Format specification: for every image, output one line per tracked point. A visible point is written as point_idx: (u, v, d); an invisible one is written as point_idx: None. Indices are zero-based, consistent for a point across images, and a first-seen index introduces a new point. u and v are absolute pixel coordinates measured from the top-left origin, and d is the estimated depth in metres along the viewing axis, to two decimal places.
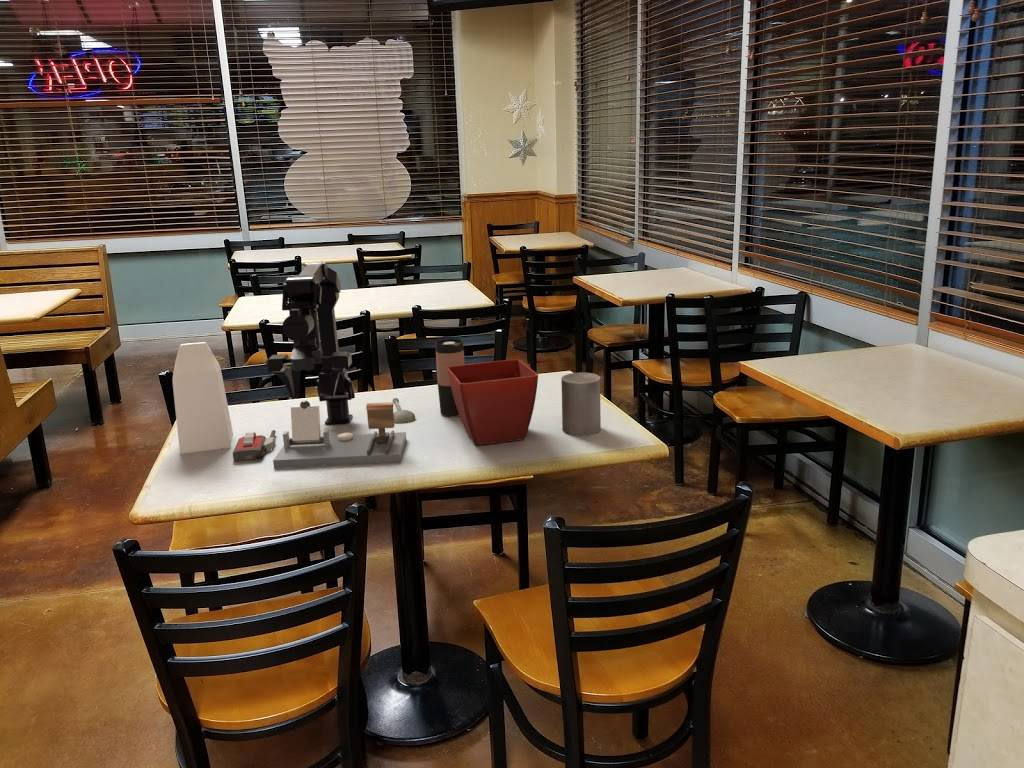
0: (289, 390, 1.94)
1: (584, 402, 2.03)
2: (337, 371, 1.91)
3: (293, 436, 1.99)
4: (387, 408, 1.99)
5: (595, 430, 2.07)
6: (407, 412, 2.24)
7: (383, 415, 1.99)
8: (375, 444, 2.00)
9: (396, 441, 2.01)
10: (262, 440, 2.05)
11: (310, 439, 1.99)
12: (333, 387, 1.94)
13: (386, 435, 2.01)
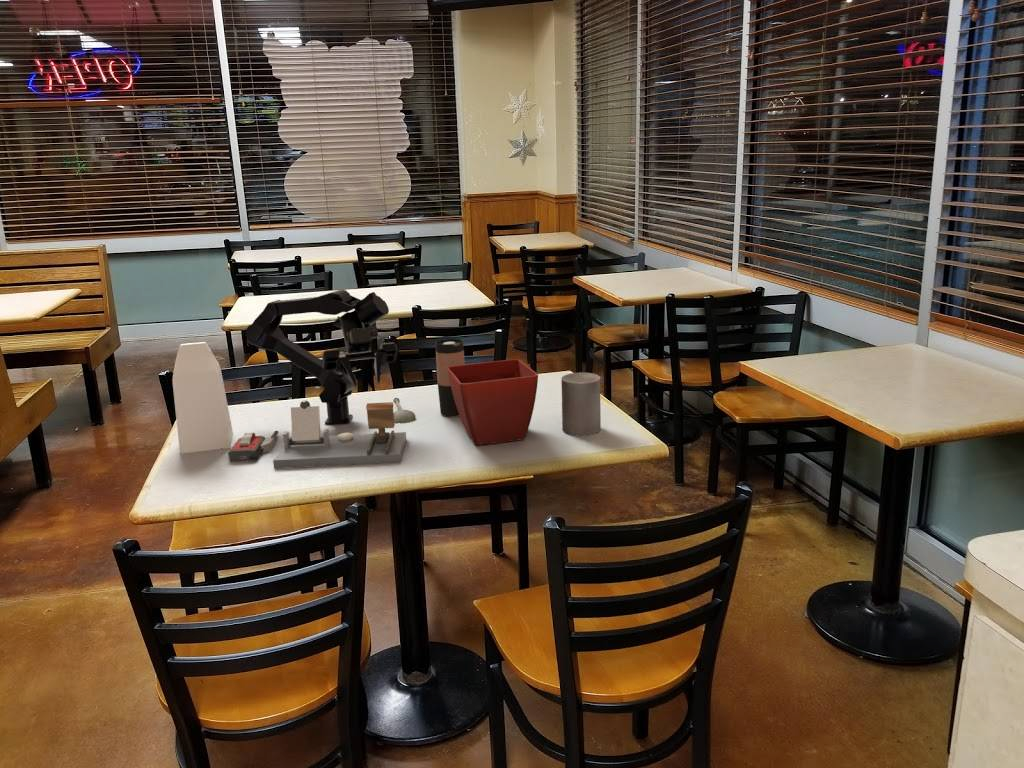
0: (352, 376, 2.08)
1: (584, 402, 2.03)
2: (382, 353, 2.12)
3: (293, 436, 1.99)
4: (387, 408, 1.99)
5: (595, 430, 2.07)
6: (407, 412, 2.25)
7: (383, 415, 1.99)
8: (375, 444, 2.00)
9: (396, 441, 2.01)
10: (260, 441, 2.05)
11: (310, 439, 1.99)
12: (379, 372, 2.11)
13: (386, 435, 2.01)
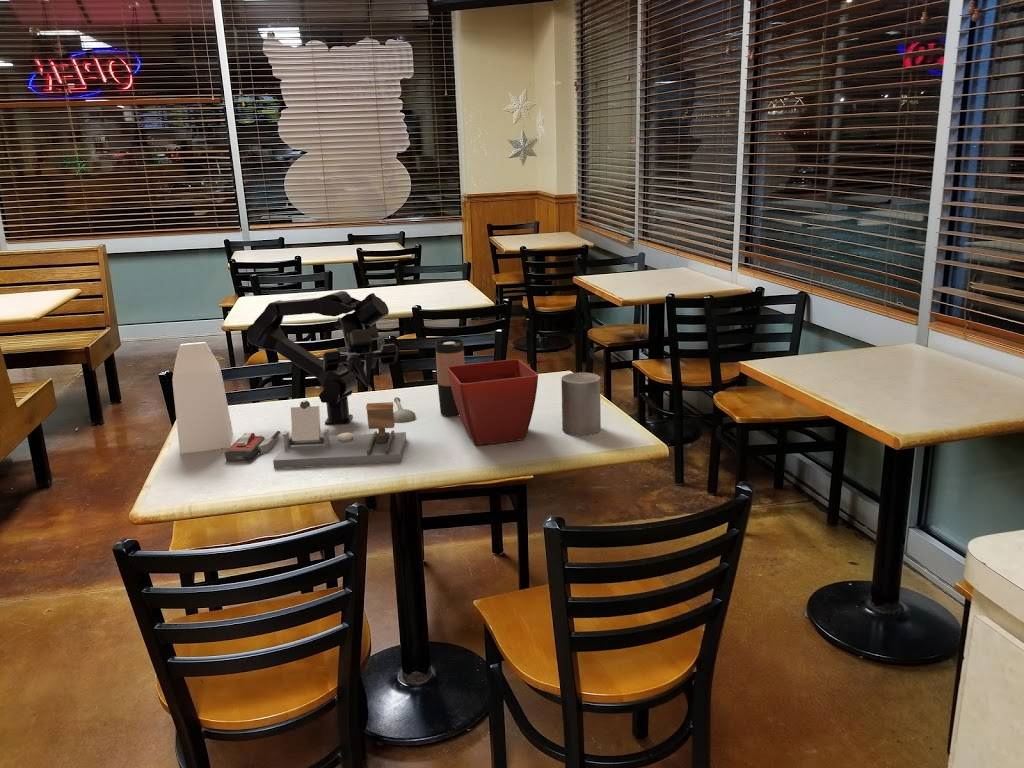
0: (363, 376, 2.09)
1: (584, 402, 2.03)
2: (372, 356, 2.11)
3: (293, 436, 1.99)
4: (387, 408, 1.99)
5: (595, 430, 2.07)
6: (408, 411, 2.25)
7: (383, 415, 1.99)
8: (375, 444, 2.00)
9: (396, 441, 2.01)
10: (258, 441, 2.04)
11: (310, 439, 1.99)
12: (369, 374, 2.10)
13: (386, 435, 2.01)
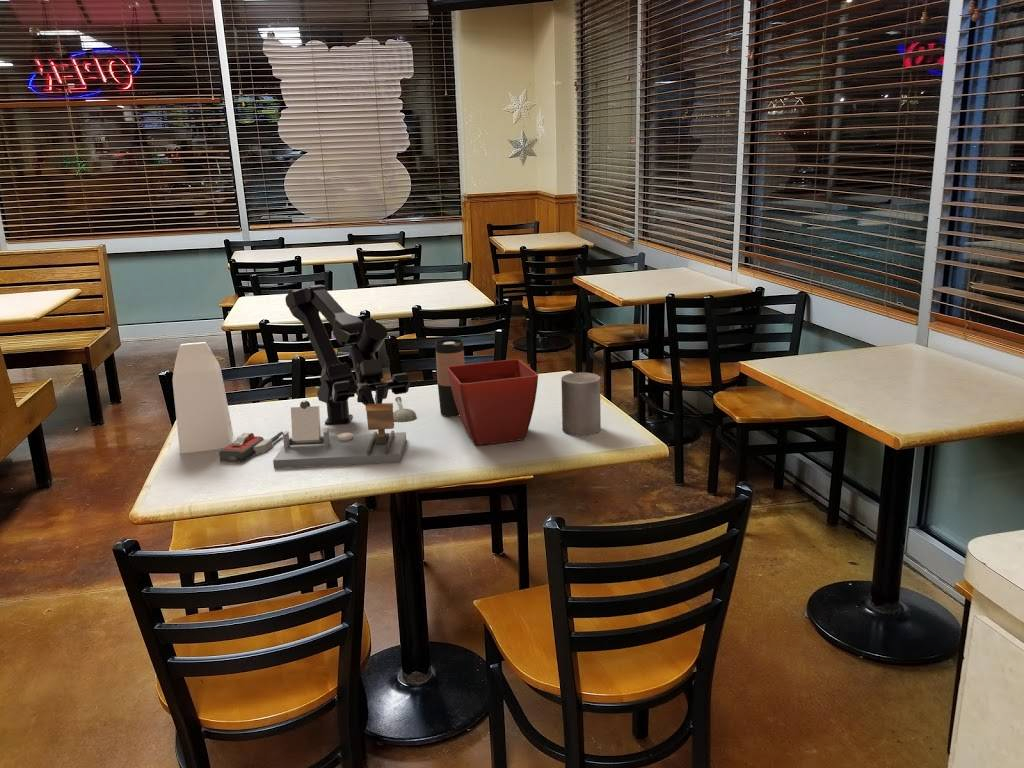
0: None
1: (584, 402, 2.03)
2: (383, 386, 2.03)
3: (293, 436, 1.99)
4: (386, 409, 1.98)
5: (595, 430, 2.07)
6: (408, 410, 2.26)
7: (383, 416, 1.98)
8: (375, 444, 2.00)
9: (396, 441, 2.01)
10: (255, 442, 2.04)
11: (310, 439, 1.99)
12: None
13: (386, 436, 2.00)
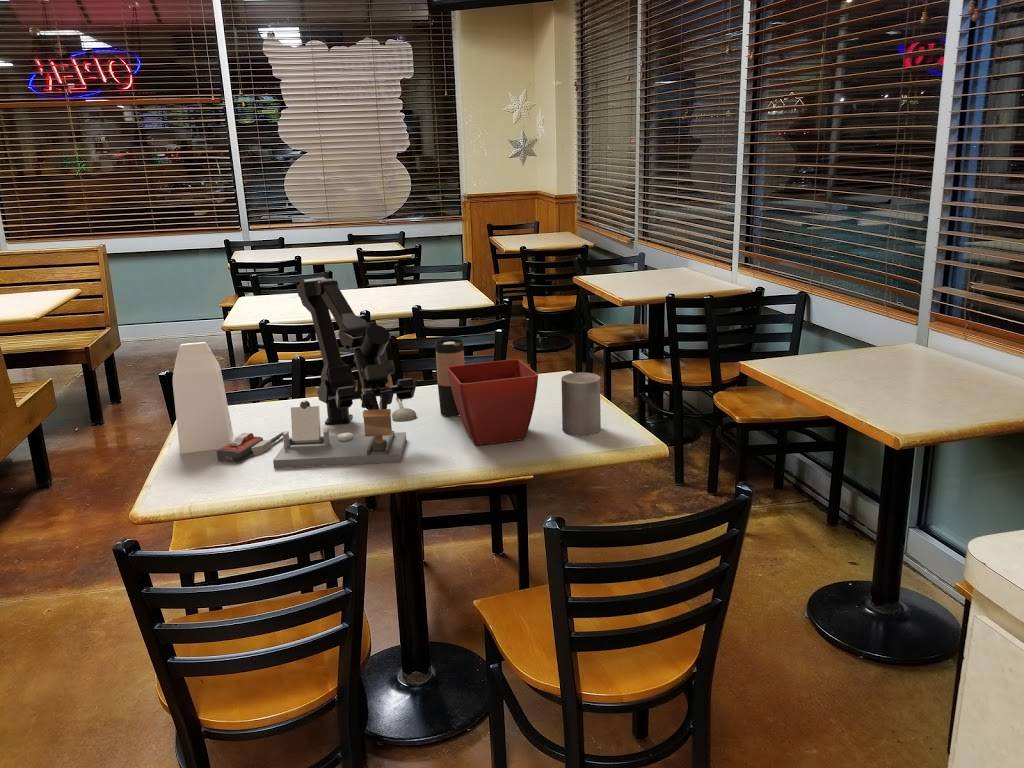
0: None
1: (584, 402, 2.03)
2: (388, 392, 1.98)
3: (293, 436, 1.99)
4: (384, 415, 1.93)
5: (595, 430, 2.07)
6: (408, 410, 2.26)
7: (380, 422, 1.94)
8: None
9: (396, 441, 2.01)
10: (254, 442, 2.04)
11: (310, 439, 1.99)
12: None
13: (383, 443, 1.96)
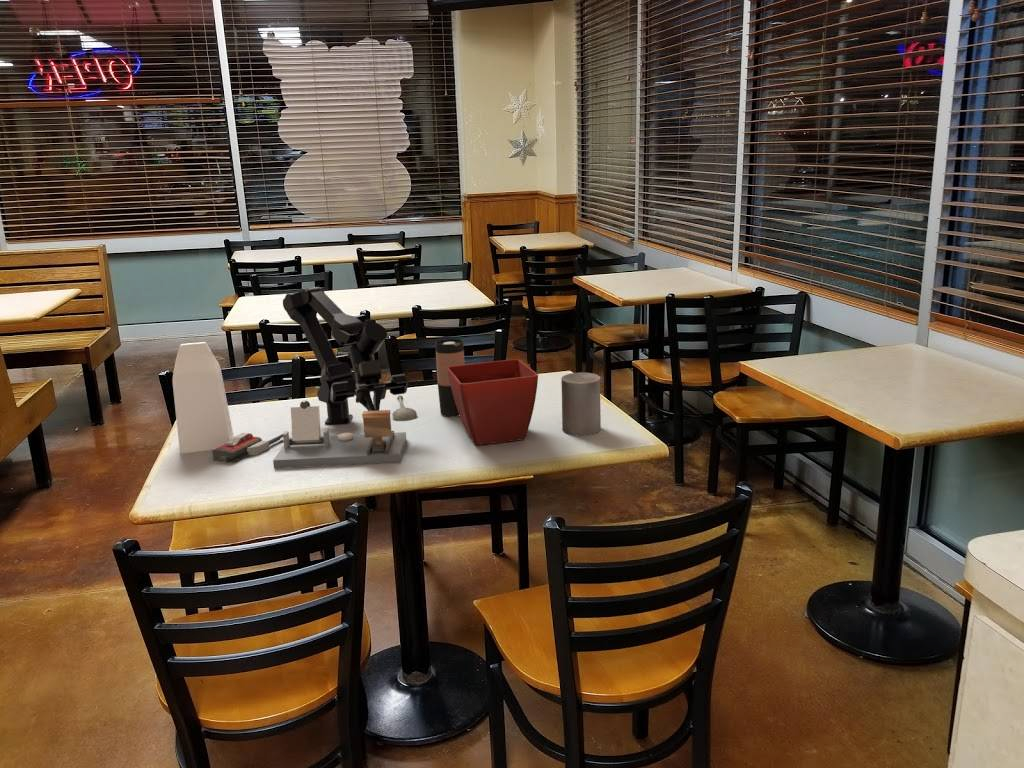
0: (372, 409, 2.02)
1: (584, 402, 2.03)
2: (381, 387, 2.04)
3: (293, 436, 1.99)
4: (384, 416, 1.93)
5: (595, 430, 2.07)
6: (409, 410, 2.27)
7: (380, 423, 1.93)
8: None
9: (396, 441, 2.01)
10: (251, 443, 2.03)
11: (310, 439, 1.99)
12: (378, 407, 2.03)
13: (383, 444, 1.95)
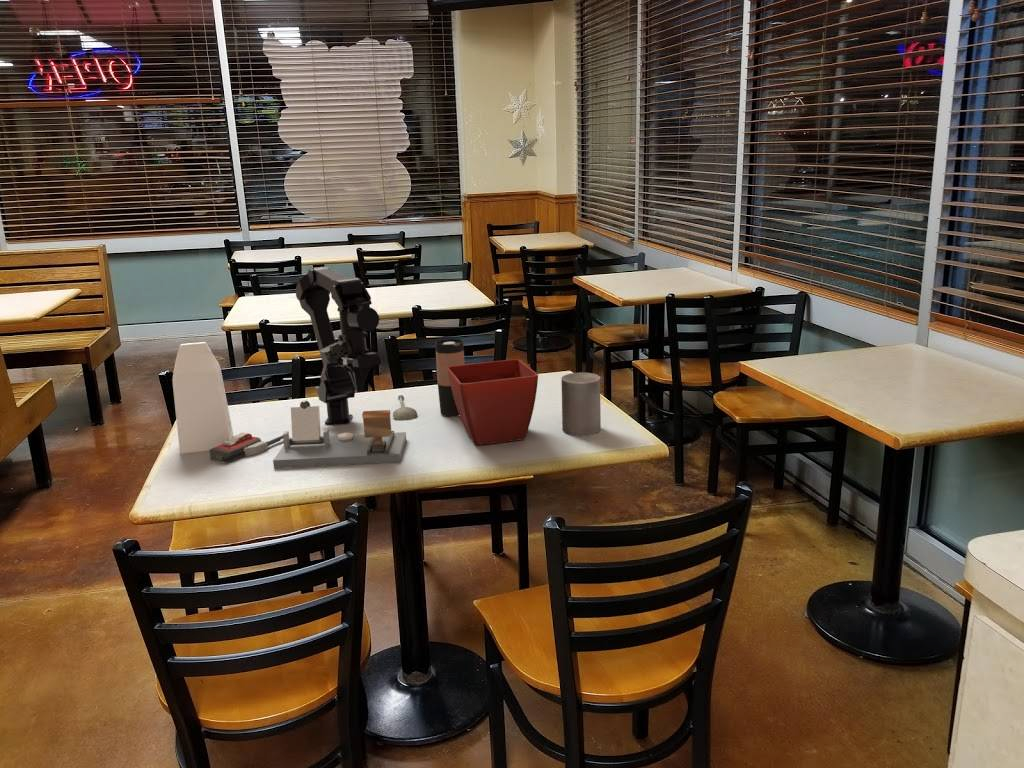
0: (353, 383, 2.08)
1: (584, 402, 2.03)
2: (349, 368, 2.04)
3: (293, 436, 1.99)
4: (384, 416, 1.93)
5: (595, 430, 2.07)
6: (409, 409, 2.27)
7: (380, 423, 1.93)
8: None
9: (396, 441, 2.01)
10: (249, 443, 2.03)
11: (310, 439, 1.99)
12: (355, 383, 2.07)
13: (383, 444, 1.95)
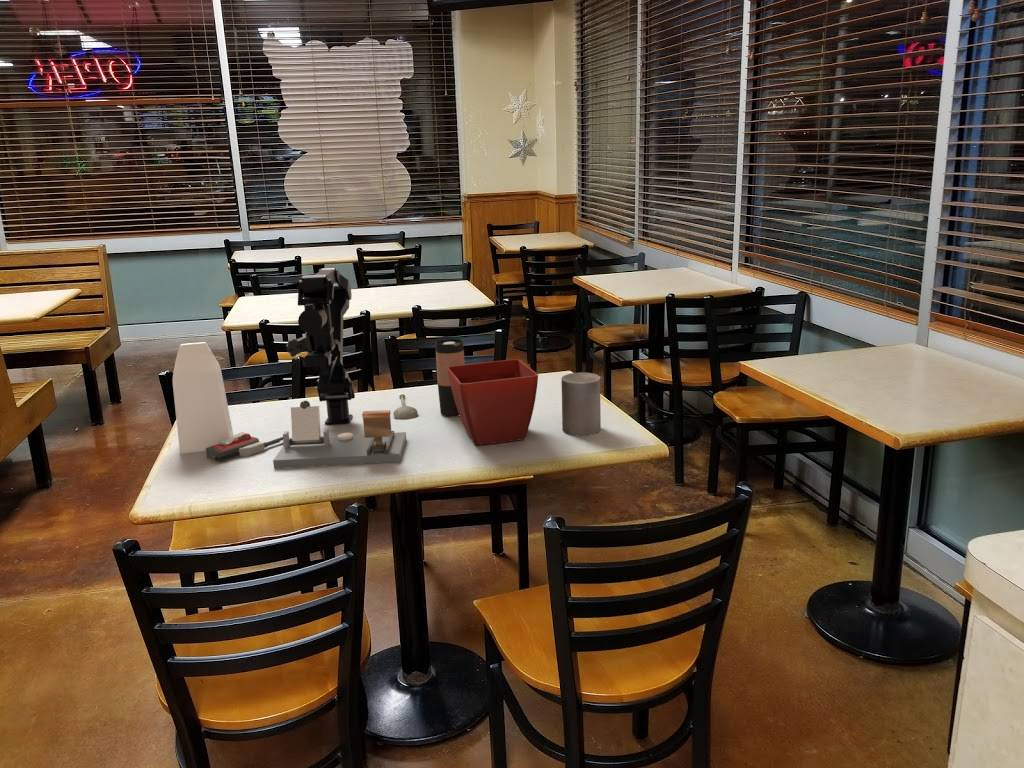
0: None
1: (584, 402, 2.03)
2: None
3: (293, 436, 1.99)
4: (384, 416, 1.93)
5: (595, 430, 2.07)
6: (410, 408, 2.28)
7: (380, 423, 1.93)
8: None
9: (396, 441, 2.01)
10: (245, 443, 2.03)
11: (310, 439, 1.99)
12: None
13: (383, 444, 1.95)
